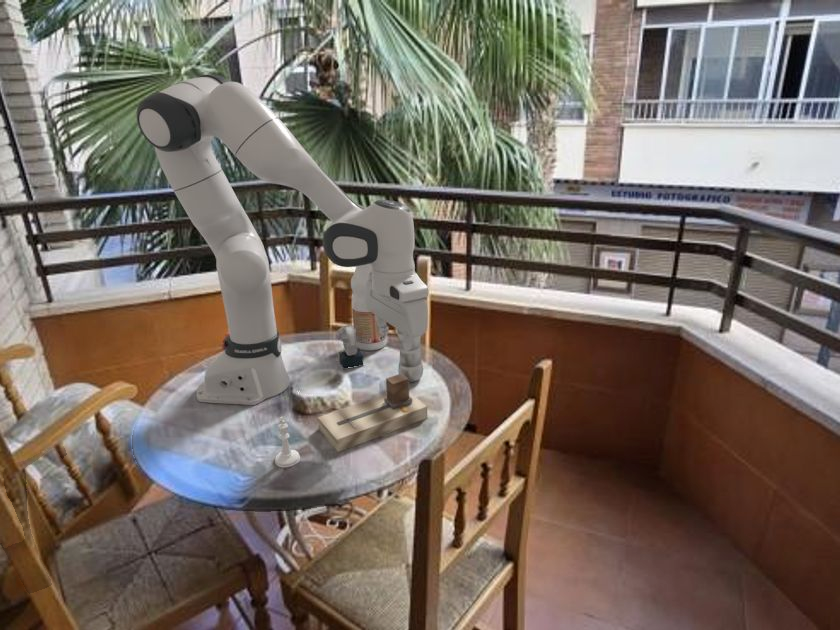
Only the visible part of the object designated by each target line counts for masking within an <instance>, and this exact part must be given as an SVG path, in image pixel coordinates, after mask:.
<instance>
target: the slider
mask: <svg viewBox="0 0 840 630" xmlns="http://www.w3.org/2000/svg"><path fill="white" fill-rule="evenodd" d="M385 382H386V383H385V384H386V385H385V386H386V394H387V397H385V398H384V402H385V403H387V404H388V405H389V406H390V407H391V408H392V409H396V408H398V407H401V406H404V405H407V404H410V403H412V398H411V397H410V396H409V392H410V385H409V383H410V382H409V380H408V378H407V377H405V376H404V375H403V374H399V373H398V374H395V375H393V376H390V377H386V378H385Z"/></svg>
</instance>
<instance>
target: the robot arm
mask: <svg viewBox="0 0 840 630" xmlns="http://www.w3.org/2000/svg"><path fill="white" fill-rule="evenodd" d="M136 121H137V125H138V128H139V130H140V132H141V134H142V135H143V137H144V138H145V140H147V142H148V143H149V144H151V146H153V147H154V150H155V151H154V152H155V154H156V157H157V160H158V162H159V165H160V167H161V169H162V172H163V173H164V175H165V178H166V180H167V182H168V184H169V186H170V187H171V189H172V190H173V193H174V194H175V196H176V197H177V199H178V201H179V203H180V204H181V206H182V208H183V210H184V211H185V213H186V215H187V217H188V218H189V219H190V222H191V223H192V225H193V226H194V227H195V228H196V230H197V231H198V232H199V234H200V235H201V236H202V237H203V238H204V241H205V242H206V243H207V245H208V247H209V248H210V249H211V251H212V253H213V255H214V256H215V260H216V265H215V266H216V272H217V277H218V281H219V286H220V292H221V296H222V302H223V306H224V310H225V316H226V322H227V328H228V330H227V332H226V334H224V339H223V340H222V344H220V345H221V350H222V352H221V353H220V354H219V355H218V356H217V357H215V358H214V359H213V360H212V361H211V362H210V363H209V365H207V367H206V369H205V373H204V379H203V381H202V382H201V383H200V384H199V386H198V388H197V390H196V394H195V395H196V399H197V401H198V402H199V403H209V404H210V403H212V404H228V405H230V404H231V405H247V406H254V405H257V404H260V403H262V402H263V401H264V400H267V399H270V398H272V397H274V396H277V395H279V394H281V393H283V392H284V391H286V389H287V388H289V386H290V384H291V378H290V376H289V375H288V372H287V369H286V367H285V364H284V360H283V357H282V341H281V337H280V332H279V330H278V329H277V322H276V316H275V308H274V299H273V291H272V289H273V288H272V280H271V271H270V264H269V263H270V261H269V258H268V255H267V252H266V249H265V247H264V243H263V242H262V240H261V237H260V236H259V234H258V232H257V230H256V228H255V227H254V224H253V223H252V221H251V219H250V218H249V216H248V215H247V213H246V210H245V209H244V207H243V206H242V203H241V202H240V201H239V198H238V197H237V195H236V192H235V191H234V190H233V187H232V186H231V184H230V182H229V180H228V178H227V176H226V174H225V172H224V171H223V169H222V166H221V164H220V163H219V161H218V159H217V158H216V156H215V155H214V152H213V150H212V140H213V138H217V139H219V140H220V141H221V142H222V143H224V145H226V147H227V148H228V149H229V150H230V152H231V153H232V154H233V155H234V157H235V158H237V159H238V161H239V162H240V163H241V164H242V165H243V166H244V168H246V169H247V170H248V171H249V172H251V174H253V175H254V176H256V177H257V178H258V179H260V180H261V181H262V182H265V183H269V184H275V185H281V186H285V187H289V188H292V189H295V190H296V191H298V192H300V193H302V194H303V195H305V196H306V197H307V198H308V199H309V200H310V201H311V202H312V204H314V205H315V206H316V207H317V208H318V209H319V210H320V211H321V212H322V214H324V215H325V216H326V217H327V218H328V219H329V220H330V222H331V225H329V227H328V228H327V229H326V230H325V232H324V234H323V237H322V248H323V251H324V254H325V256H326V257H327V258H328V260H329V261H331V262H332V263H333V264H335V265H336V266H340V267H343V268H350V267H351V268H352V267H356V266H361V265H366V264H371V265H372V271H371V273H370V274H369V280H368V281H367V282H366V289H365V305H366V308H367V310H369V311H370V312H372V313H373V314H375V319H376V322H377V324H378V327H379V333H380V334H381V335H383V336H384V335H389V333H390V332H389V331H390V330H389V329H390V327H389V326H388V325H387V323H388V324H389V325H391V326H392V327H394V328H395V329H396V330H397V329H398V330H400V331H401V332H403V336H404V340H403V341H401V348H402V349H403V350H405V351H408V350H411V348H412V341H413V339H414V337H418V336H421V337H422V336H424V335H425V334H426V333H427V331H428V327H429V321H428V320H429V309H428V307H429V306H428V302H427V300H426V298H427V297H429V292H430V291H429V287H428V286H427V285H426V283H424V281H422V279H421V278H420V277H419V275H418V274H417V272H416V271H415V269H416V267H415V265H416V264H415V260H414V251H415V241H416V240H415V226H414V224H415V223H414V219H413V214H412V211H411V209H410V208H409V207H408V206H407V205H406V204H404V203H402V202H401V201H400V202H399V201H395V200H392V199H391V200H390V199H378V200H375V201H373V203H372V204H370V205H368V206H367V207H365V206H363V205H361V204H358V203H357V202H356V201H354V200H353V199H351V197H350V196H349V195H348V194H346V192H345V191H344V190H343V189H342V188H341V187H340V186H339V185H338V184H337V183H336V181H334V180H333V178H332V177H330V176H329V175H328V174H327V173H326V171H324V169H323V168H321V167H320V165H318V164H317V162H316V161H315V160H314V159H313V157H311V155H310V154H309V153H308V152H307V151H306V150H305V148H304V147H303V146H302V145H301V144H300V142H299V141H298V139H297V138H296V137H295V136H294V134H293V133H292V132H291V131H290V130H289V128H288V127H287V126H286V125H285V123H283V121H282V119H280V118H279V117H278V116H277V114H276V113H275V112H274V111H273V110H272V109H271V108H270V107H269V106H268V105H267V104H266V103H265V102H264V101H263V100H262V99H261V98H260V97H259V96H257V95H256V94H255V93H254V92H252V91H251V90H250V89H249V88H247V87H246V86H245V85H244V84H242V83H240V82H238V81H230V80H229V79H227V78H226V77H224V76H222V75H220V74H219V75H218V74H202V75H200V76H198V77H193V78H188V79H184V80H181V81H179V82H176V83H174V84H173V85H171V86H169V87H166V88H165V89H163V90H161V91H158V92H157V91H156V92H153V93H151V94H149V95H148V96H146V97H145V98H144V99H143V100H142V101H141V102H140V103H139V104H138V106H137V108H136Z"/></svg>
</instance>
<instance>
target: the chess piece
mask: <svg viewBox="0 0 840 630" xmlns="http://www.w3.org/2000/svg"><path fill="white" fill-rule="evenodd" d="M278 421H279V422H280V423H279V424H278V426H277V429H278V431H279V433H280V434H279V435H278V439H279V440H280V441H282V442H281V443H282V444H281V445H282V446H281V448H282V449H281V450H282V451H280V452H278V454H276V456H275V459H274V463H275V465H276V466H277V467H280V468H290V467H294V466H295V465H297V464H299V462H300V460H301V456H300V453H299V452H298V451H297V450H295V449H291V447H290V443H289V440H288V439H289V438H290V437H291V435H290V433H289V432H288V429H289V424H288V423H286V421H285V420H284V416H280V418H278Z"/></svg>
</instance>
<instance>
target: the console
mask: <svg viewBox="0 0 840 630" xmlns="http://www.w3.org/2000/svg"><path fill="white" fill-rule="evenodd" d="M409 396H410V397H411V398H412V403H410V404H407V405H404V406H401V407H398V408H396V409H392V408H391V407H390V406H389V405H388V404H387V403H385V402H384V398H385V397H387V393H384V394H383V395H379V396H376V397H374V398H370V399H367V400H365V401H362V402H359V403H356V404H353V405H349V406H347V407H345V408H341V409H338V410H335V411H332V412H329V413H326V414H323V415H321V416H317V425H318V426H317V427H318V430H319V429H320V430H319V432H321V434H322V435H323V434H324V435H323V436H324V437H325V438H326V439H327V440H329V441H328V442H329V443H330V444H331V445H332V446H333V448H334V449H335V450H336V451H337V452H338V453H339V452H341V451H345V450H347V449H349V448H352V447H355V446H357V445H360V444H363V443H366V442H368V441H370V440H373V439H375V438H379V437H381V436H384V435H386V434H389V433H391V432H394V431H396V430H399V429H402V428H404V427H407V426H410V425H412V424H415V423H417V422H420V421H423V420H425V419H427V418H428V405H426V404H425V403H424V402H423V401H421V400H420V399H419V398H417V397H416V396H415V395H413V393H411V392H410V391H409Z"/></svg>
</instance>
